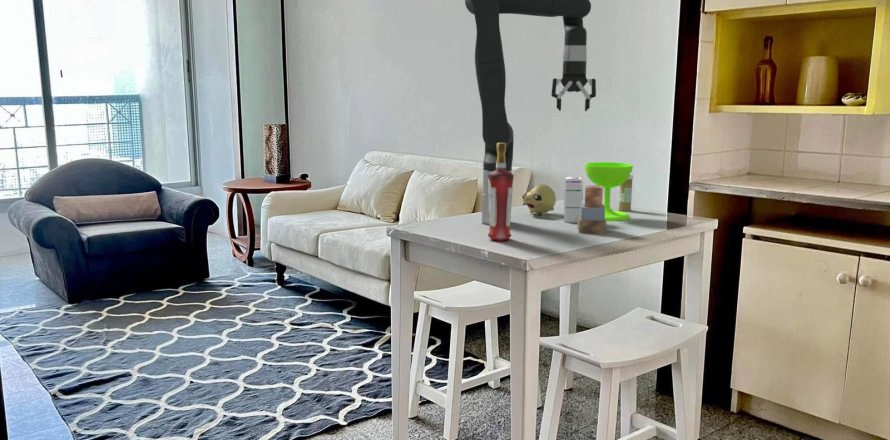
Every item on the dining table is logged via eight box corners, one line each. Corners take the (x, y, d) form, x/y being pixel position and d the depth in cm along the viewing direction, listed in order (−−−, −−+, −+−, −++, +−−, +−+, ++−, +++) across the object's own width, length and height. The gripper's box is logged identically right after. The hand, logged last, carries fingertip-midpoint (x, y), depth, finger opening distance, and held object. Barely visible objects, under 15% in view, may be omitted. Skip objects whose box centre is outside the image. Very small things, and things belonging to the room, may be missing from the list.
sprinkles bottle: (616, 209, 265) (618, 172, 263) (628, 209, 266) (630, 172, 263) (620, 211, 261) (622, 174, 258) (633, 211, 261) (635, 174, 259)
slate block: (581, 220, 223) (581, 207, 222) (580, 216, 230) (581, 203, 229) (604, 221, 222) (605, 208, 221) (603, 217, 228) (603, 204, 228)
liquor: (485, 237, 215) (486, 142, 210) (510, 237, 216) (512, 142, 211) (488, 242, 208) (490, 144, 203) (514, 242, 209) (516, 144, 204)
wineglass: (632, 221, 241) (635, 167, 238) (583, 220, 244) (585, 166, 241) (628, 213, 257) (630, 162, 254) (582, 212, 259) (584, 161, 256)
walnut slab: (578, 233, 223) (579, 220, 222) (577, 228, 230) (577, 216, 230) (605, 234, 222) (606, 221, 221) (603, 229, 230) (603, 216, 229)
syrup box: (581, 223, 239) (583, 179, 236) (563, 222, 240) (564, 178, 237) (581, 220, 244) (583, 176, 241) (564, 219, 245) (565, 176, 243)
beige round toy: (516, 214, 253) (517, 184, 251) (538, 210, 261) (539, 181, 259) (539, 218, 246) (540, 187, 244) (560, 214, 255) (561, 184, 253)
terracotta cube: (584, 206, 223) (585, 187, 222) (585, 204, 228) (586, 185, 227) (601, 207, 222) (602, 188, 221) (602, 205, 227) (602, 185, 226)
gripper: (553, 59, 233) (551, 111, 236) (598, 59, 232) (596, 111, 235) (552, 60, 241) (550, 110, 244) (596, 60, 239) (593, 110, 242)
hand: (572, 110), depth 239 cm, fingers open, 8 cm apart
